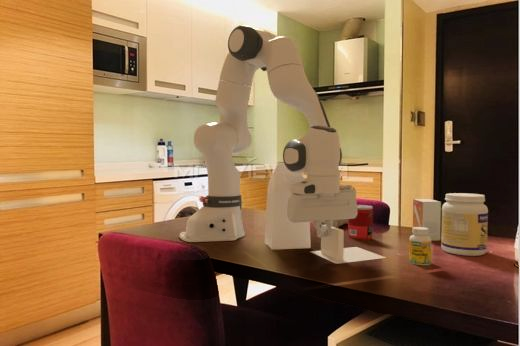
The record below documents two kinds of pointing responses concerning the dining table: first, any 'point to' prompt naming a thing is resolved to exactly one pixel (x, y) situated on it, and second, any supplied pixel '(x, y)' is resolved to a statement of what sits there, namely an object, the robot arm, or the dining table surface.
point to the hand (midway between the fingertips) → (322, 236)
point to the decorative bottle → (336, 223)
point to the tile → (333, 243)
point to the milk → (283, 213)
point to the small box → (427, 216)
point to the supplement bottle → (420, 246)
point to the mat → (351, 255)
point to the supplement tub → (464, 224)
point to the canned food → (361, 223)
